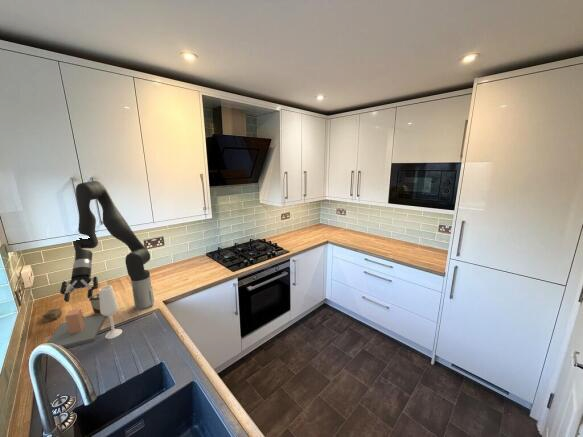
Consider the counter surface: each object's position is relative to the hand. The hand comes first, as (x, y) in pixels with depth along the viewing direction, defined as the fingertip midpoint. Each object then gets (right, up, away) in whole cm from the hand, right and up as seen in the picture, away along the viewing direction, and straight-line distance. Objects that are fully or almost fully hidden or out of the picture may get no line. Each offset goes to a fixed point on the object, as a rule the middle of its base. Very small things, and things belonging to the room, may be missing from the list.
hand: (78, 299), depth 117 cm
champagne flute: (+21, -15, -4) cm, 26 cm away
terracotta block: (+3, -13, -4) cm, 14 cm away
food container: (+3, -11, +14) cm, 19 cm away
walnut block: (-20, -13, +8) cm, 25 cm away
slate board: (+3, -15, -3) cm, 15 cm away
